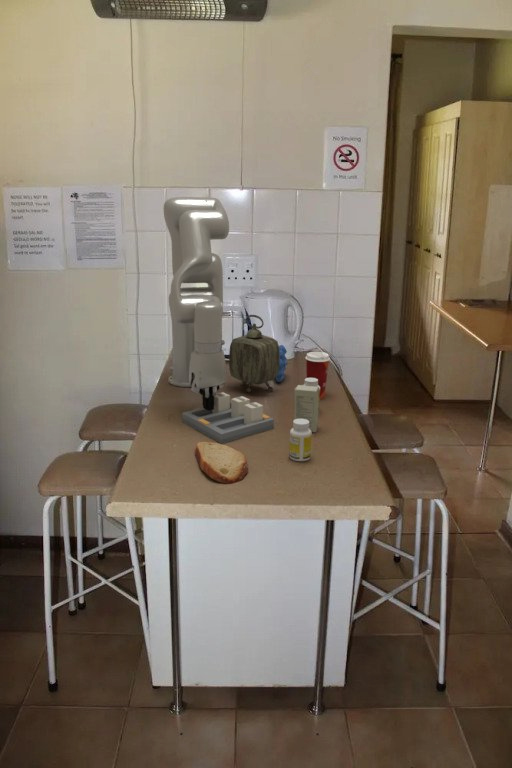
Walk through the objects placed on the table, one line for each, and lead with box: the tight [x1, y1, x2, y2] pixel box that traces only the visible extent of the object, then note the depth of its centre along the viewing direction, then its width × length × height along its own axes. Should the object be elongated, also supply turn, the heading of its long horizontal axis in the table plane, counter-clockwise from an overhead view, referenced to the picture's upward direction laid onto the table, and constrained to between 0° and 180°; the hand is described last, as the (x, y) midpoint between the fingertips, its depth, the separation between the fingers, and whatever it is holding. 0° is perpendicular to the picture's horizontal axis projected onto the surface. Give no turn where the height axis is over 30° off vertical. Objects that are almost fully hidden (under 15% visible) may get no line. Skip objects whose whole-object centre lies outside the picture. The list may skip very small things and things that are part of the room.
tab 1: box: [230, 395, 251, 418], centre depth 188 cm, size 3×4×6 cm
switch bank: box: [181, 400, 275, 445], centre depth 186 cm, size 19×18×3 cm
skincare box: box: [293, 384, 320, 433], centre depth 183 cm, size 6×4×12 cm
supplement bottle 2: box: [303, 377, 321, 413], centre depth 196 cm, size 6×6×10 cm
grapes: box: [274, 344, 288, 383], centre depth 224 cm, size 12×7×12 cm, turn 171°
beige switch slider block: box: [212, 391, 231, 414], centre depth 191 cm, size 3×4×6 cm
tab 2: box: [244, 401, 264, 425], centre depth 184 cm, size 3×4×6 cm
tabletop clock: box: [228, 314, 280, 393], centre depth 211 cm, size 14×9×25 cm, turn 53°
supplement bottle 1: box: [288, 419, 313, 462], centre depth 166 cm, size 5×5×10 cm
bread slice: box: [194, 441, 249, 485], centre depth 162 cm, size 18×18×4 cm
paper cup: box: [305, 351, 331, 400], centre depth 209 cm, size 8×8×14 cm
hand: (208, 408), depth 189 cm, fingers closed
